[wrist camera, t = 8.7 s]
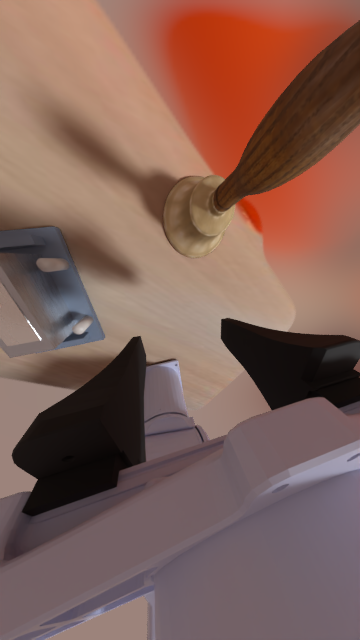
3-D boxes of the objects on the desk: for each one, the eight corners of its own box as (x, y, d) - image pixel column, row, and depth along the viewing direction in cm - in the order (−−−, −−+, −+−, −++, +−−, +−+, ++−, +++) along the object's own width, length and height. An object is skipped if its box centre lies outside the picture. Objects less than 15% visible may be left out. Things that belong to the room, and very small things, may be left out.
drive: (77, 327, 18) (54, 349, 14) (45, 332, 18) (9, 358, 13) (40, 254, 14) (-10, 252, 10) (-3, 259, 14) (-78, 258, 9)
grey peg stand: (105, 336, 20) (96, 352, 17) (39, 349, 19) (16, 368, 16) (59, 228, 14) (30, 218, 11) (-42, 236, 13) (-109, 228, 10)
